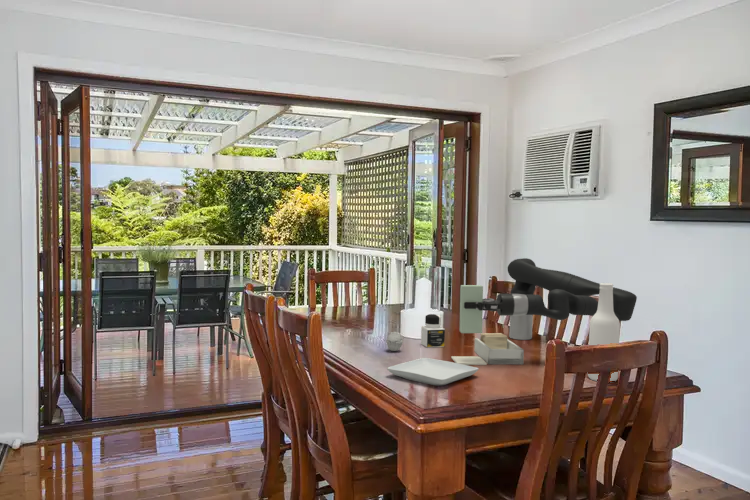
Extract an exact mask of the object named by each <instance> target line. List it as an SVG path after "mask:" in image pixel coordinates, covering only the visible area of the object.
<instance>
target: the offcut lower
mask: <svg viewBox="0 0 750 500" xmlns="http://www.w3.org/2000/svg"><path fill="white" fill-rule="evenodd" d="M482 342H483V341H482ZM483 343H484V342H483ZM484 344H486V345H487V346H488V347H489V348H491V349H507V343H484Z"/></svg>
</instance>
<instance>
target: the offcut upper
mask: <svg viewBox="0 0 750 500" xmlns="http://www.w3.org/2000/svg"><path fill="white" fill-rule="evenodd" d="M479 338H480V339H479V340H481V341H483V342H484V343H507V339H508V336H507V335H506V334H504V333H502V332H497V333H496V332H494V333H493V332H492V333H490V332H489V333H488V332H485V333H483V332H482V333H480V337H479Z"/></svg>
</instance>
